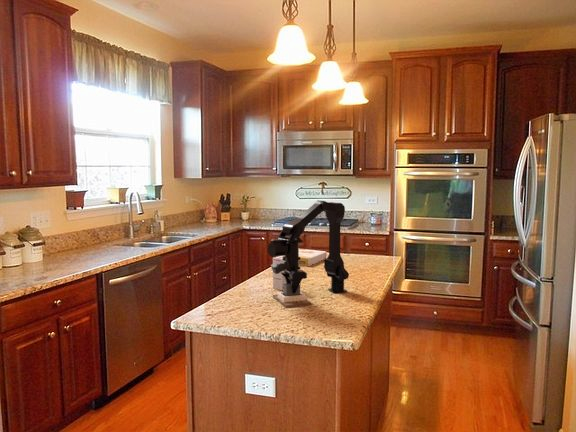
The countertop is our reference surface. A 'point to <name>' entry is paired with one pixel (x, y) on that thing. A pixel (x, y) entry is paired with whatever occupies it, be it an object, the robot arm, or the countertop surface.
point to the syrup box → (278, 276)
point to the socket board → (292, 300)
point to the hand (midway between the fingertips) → (291, 291)
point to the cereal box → (310, 257)
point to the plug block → (290, 290)
